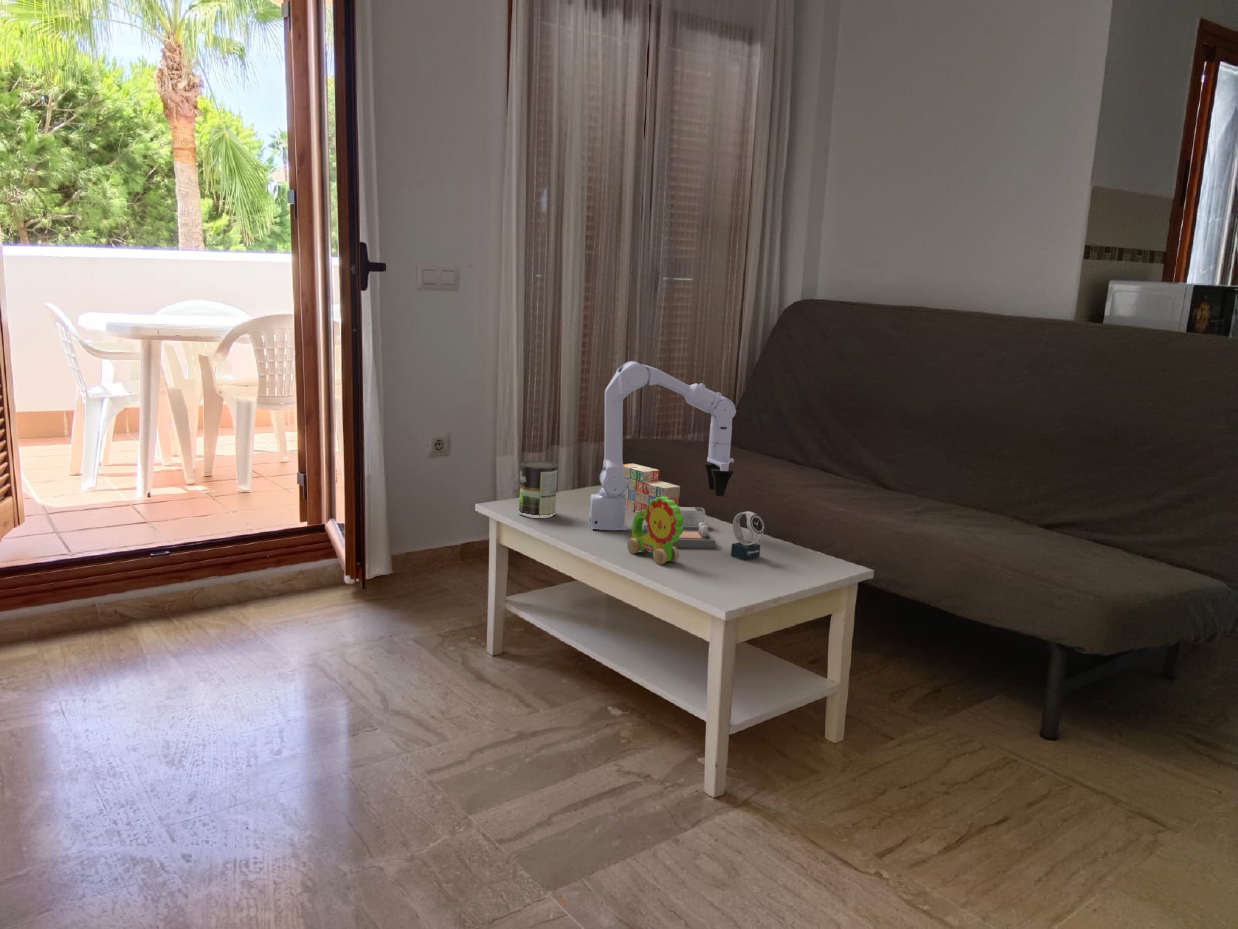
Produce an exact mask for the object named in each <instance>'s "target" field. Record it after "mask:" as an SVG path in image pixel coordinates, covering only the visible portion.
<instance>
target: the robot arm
mask: <svg viewBox="0 0 1238 929" xmlns="http://www.w3.org/2000/svg"><path fill="white" fill-rule="evenodd" d="M645 385H648V386H655V385H658V386H659V385H660V386H661V387H664V388H666V389H669V390H671V391H672V392H675V393H677V394H679V395H681V396H684V399H685V402H686V404H688V405H690V406H692V407H694V408H697V409H699V410H700V411H702V412H704V413H707V414H710V415H711V417H710V427H709V428H710V429H709V439H708V441H709V442H708V453H707V454H708V455H707V458H706V461H707V462H704V463H703V466H704V469H705V472H706V476H707V481H708V482H707V483H708V490H710V491H711V490H712V491H714V495H715V496H716V497H724V495H725V493H726V490H727V486H728V484H729V481H730V479H731V478H732V476H733V475H734V471H733V470H729V466H730V463H734V462H735V459H734V458H731V445H732V444H731V443H732V431H733V425H732V424H733V418H734V417H735V416H736V414H737V409H736V406H735V403H734V402H733V401H732V400H731V399H730V398H727V397H725V396H724V395H722V393H721V392H719V391H716V392H715V391H713V390H710V389H709V388H707V387H706V384H704V383H702V382H700V383H693V384H688V383H685V382H683V381H681V380H680V379H678V378H676V377H675V376H672V375H670V374H668V373H666V372H664V371H662V370H661V369H659V368H656V367H653V366H650V365H646V364H641V363H639V362H638V361H635V360H630V361H627V362H625V363H624V364H622V365H621V366H619V367H618V368H617V369H616V372H615V374H614V375H613V377H612V378H611V380H610V382H609V383H608V385H607V386H606V387H605V390H604V443H603V445H604V446H603V447H604V449H603V450H604V453H603V454H604V456H603V457H604V458H603V462H602V470H601V472H600V474H599V482H600V484H601V485H602V487H601V488H600V489H599V490H598V493H593V494H590V501H589V514H588V524H589V527H590V526H591V527H590V529H591V530H592V529H597V530H596V531H628V527H627V526H626V524H625V521H626V517H625V516H626V508H625V504H626V492H624V491H625V490H626V488H627V481H626V478H625V476H624V473H623V464H624V460H623V446H624V445H623V444H624V443H623V428H624V427H623V424H624V422H623V421H624V420H623V418H624V417H623V416H624V410H623V409H624V406H623V405H624V399H625V398H627V397H628V396H629V394H631V393H632V392H634V391H636V390H638V389H640V388H642V387H644V386H645ZM598 529H599V530H598Z"/></svg>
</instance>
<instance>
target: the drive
mask: <svg viewBox="0 0 1238 929" xmlns="http://www.w3.org/2000/svg"><path fill="white" fill-rule="evenodd" d="M678 507H679V508H680V511H681V515H682V516H683V525H682V526H699V523H705V522H706V521H705V519H706V518H705V517H706V510H705V509H704V508H703V507H701V506H692V507H691V506H678Z"/></svg>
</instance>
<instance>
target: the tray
mask: <svg viewBox="0 0 1238 929" xmlns="http://www.w3.org/2000/svg"><path fill="white" fill-rule="evenodd" d="M682 527H683V532H682V534H681V535H680V536H679V539H678V541H677V542H673V546H674V547H676V548H677V549H679V548H681V549H686V548H688V549H716V539H715V538H714V536H712V534H711V533H710V532H709V526H708V525H706V523H705V522H704V523H699V526H682ZM647 533H648V524H647V525H645V524H643V526H642V534H643V535H645V534H647Z"/></svg>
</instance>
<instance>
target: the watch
mask: <svg viewBox="0 0 1238 929" xmlns="http://www.w3.org/2000/svg"><path fill="white" fill-rule="evenodd" d="M744 515H745V517H746V526H747V529H748V531H749V532H750V533H751V536H752V538H753V540H752V541H749V540H746V539H745V535H744V534H743V530H742V527H741V526H742V525H741V524H740V523H741V522H740V520H741V518H742V516H744ZM731 526H732V531H733V535H734V537H735V539H736V541H737V542H734V543H731V549H730V557H732V558H735V559H738V560H741V561H749V560H752V559H757V558H760V556H761V544H759V542H760V541H761V539H762V537H764V536H763V535H764V531H765V529H766V526H765V523H764V520H763V519H762V517H761V516H760V515H758V514H757V513H756V512H753V511H750V510H749V511H748V510H747V511H743V512H739V513H737V514H736V515H735V516H734V518H733V521H732V525H731Z"/></svg>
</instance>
